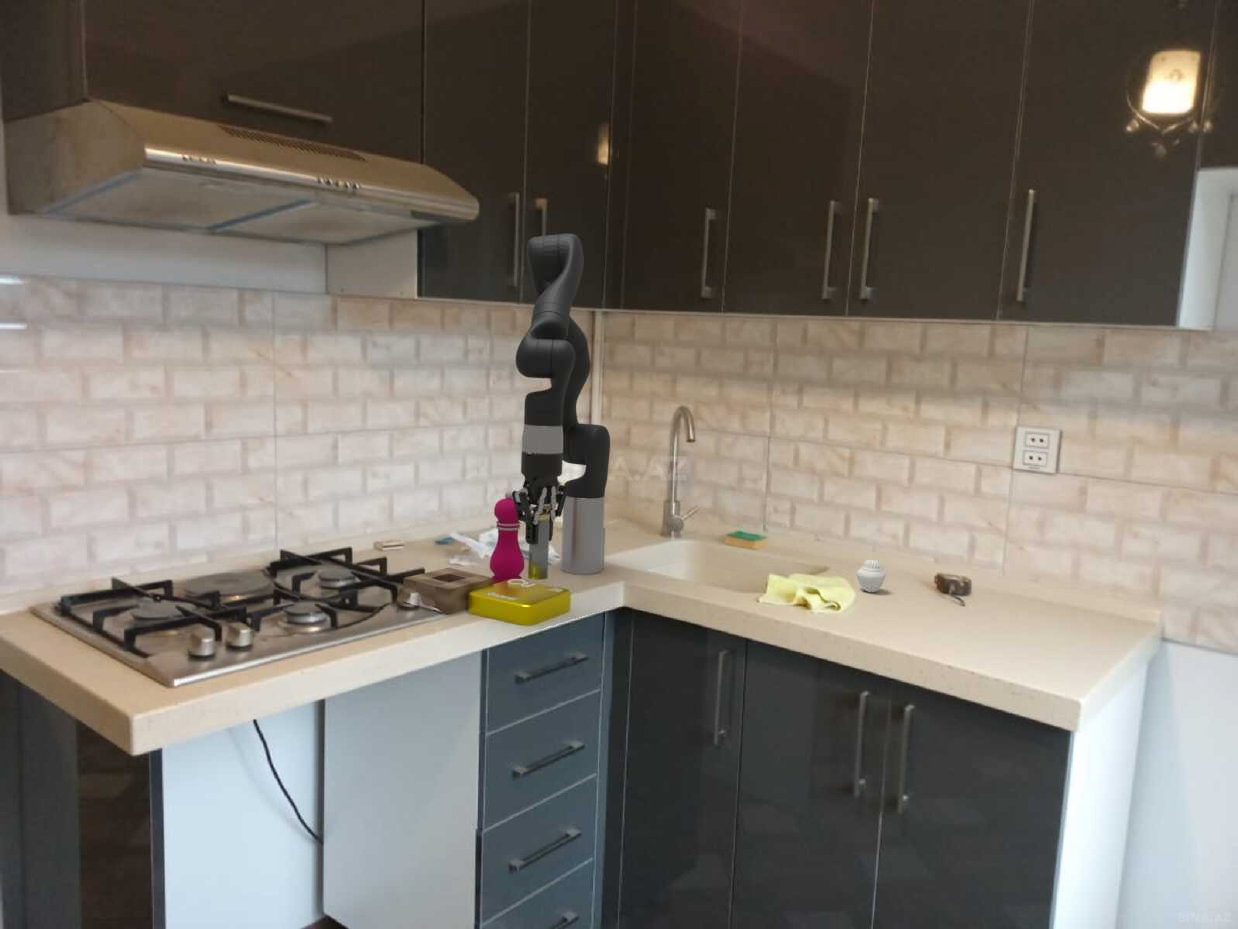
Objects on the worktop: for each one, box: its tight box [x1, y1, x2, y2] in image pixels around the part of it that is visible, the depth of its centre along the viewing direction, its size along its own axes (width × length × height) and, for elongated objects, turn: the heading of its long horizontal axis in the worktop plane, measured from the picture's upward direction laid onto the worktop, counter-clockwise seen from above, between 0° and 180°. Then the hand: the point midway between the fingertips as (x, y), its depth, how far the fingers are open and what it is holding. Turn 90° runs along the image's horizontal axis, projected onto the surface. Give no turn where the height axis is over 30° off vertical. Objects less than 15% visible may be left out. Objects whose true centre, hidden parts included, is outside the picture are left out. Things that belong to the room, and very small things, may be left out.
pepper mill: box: [489, 490, 525, 584], centre depth 196 cm, size 7×7×20 cm
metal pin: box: [527, 511, 550, 581], centre depth 174 cm, size 4×4×12 cm
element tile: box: [467, 579, 572, 627], centre depth 178 cm, size 15×15×5 cm
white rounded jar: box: [856, 558, 886, 593], centre depth 206 cm, size 6×6×7 cm
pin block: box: [402, 567, 493, 616], centre depth 181 cm, size 12×12×5 cm
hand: (538, 541), depth 174 cm, fingers closed on metal pin, 3 cm apart
